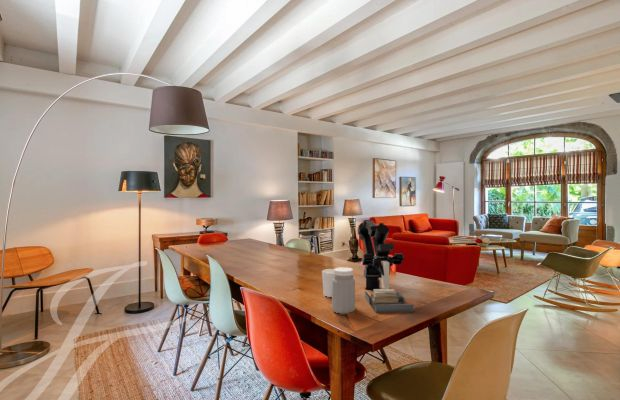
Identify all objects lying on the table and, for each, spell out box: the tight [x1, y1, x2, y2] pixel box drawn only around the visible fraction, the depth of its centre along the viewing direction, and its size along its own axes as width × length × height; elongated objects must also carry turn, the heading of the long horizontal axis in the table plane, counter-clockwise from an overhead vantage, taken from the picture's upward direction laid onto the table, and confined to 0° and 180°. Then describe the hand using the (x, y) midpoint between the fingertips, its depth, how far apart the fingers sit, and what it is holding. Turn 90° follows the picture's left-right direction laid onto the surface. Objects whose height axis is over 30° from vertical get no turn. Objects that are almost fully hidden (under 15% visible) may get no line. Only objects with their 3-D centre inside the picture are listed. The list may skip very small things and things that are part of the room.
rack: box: [364, 291, 415, 314], centre depth 146 cm, size 20×16×4 cm
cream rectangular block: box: [381, 261, 390, 289], centre depth 149 cm, size 4×2×12 cm, turn 3°
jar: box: [331, 266, 356, 315], centre depth 140 cm, size 10×10×18 cm
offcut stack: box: [370, 288, 398, 303], centre depth 151 cm, size 7×11×4 cm, turn 93°
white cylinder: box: [321, 268, 335, 298], centre depth 162 cm, size 10×10×12 cm
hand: (386, 275), depth 148 cm, fingers closed on cream rectangular block, 2 cm apart
